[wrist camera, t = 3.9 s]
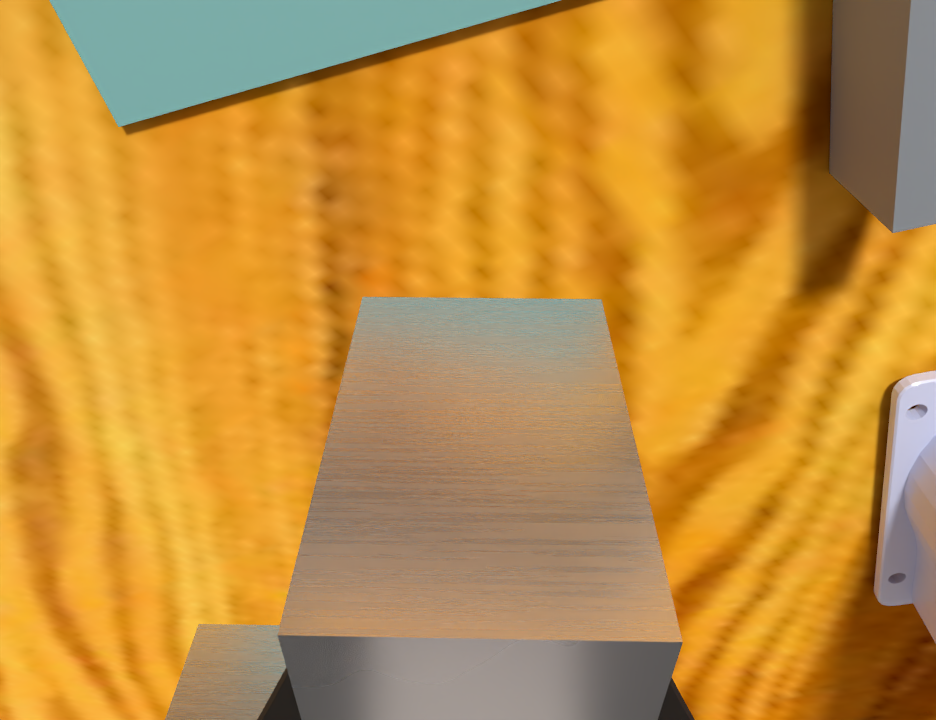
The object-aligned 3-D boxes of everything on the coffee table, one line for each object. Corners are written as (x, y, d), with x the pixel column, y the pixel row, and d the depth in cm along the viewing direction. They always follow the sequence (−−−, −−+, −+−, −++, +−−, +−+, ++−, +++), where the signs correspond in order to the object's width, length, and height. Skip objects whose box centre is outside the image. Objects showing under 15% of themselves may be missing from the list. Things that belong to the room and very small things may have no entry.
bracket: (546, 710, 16) (567, 1000, 12) (230, 704, 16) (149, 990, 12) (600, 299, 10) (682, 642, 6) (68, 294, 10) (-220, 625, 6)
